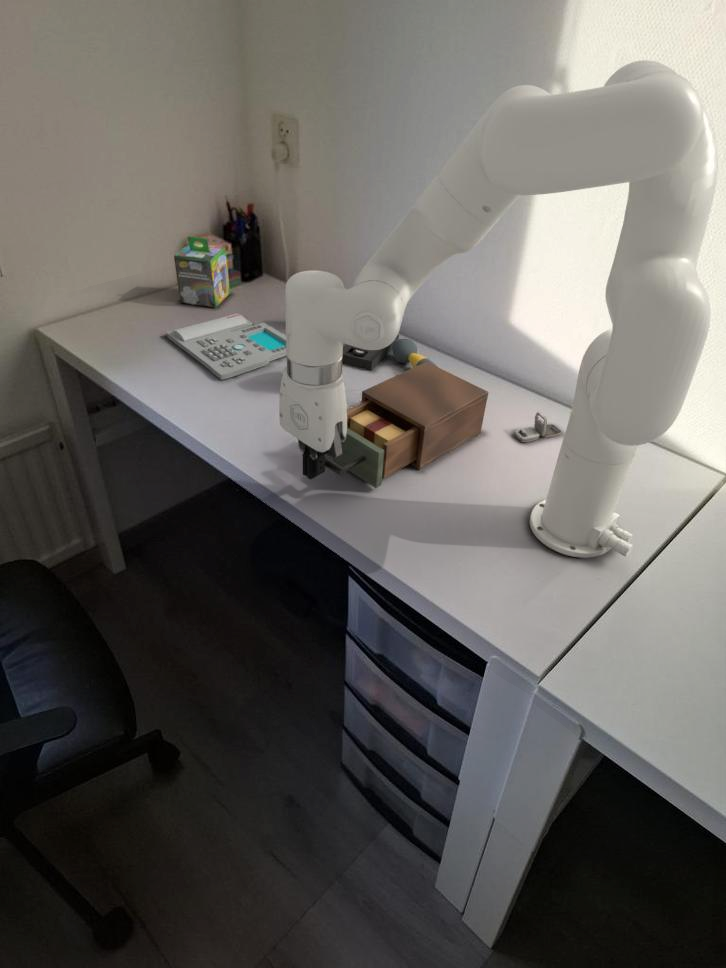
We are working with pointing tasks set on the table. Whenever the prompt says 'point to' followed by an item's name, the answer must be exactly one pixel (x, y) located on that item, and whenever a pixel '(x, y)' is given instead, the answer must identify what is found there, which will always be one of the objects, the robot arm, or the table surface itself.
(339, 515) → the table surface
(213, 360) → the office telephone
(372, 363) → the vhs tape
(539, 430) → the strap clip
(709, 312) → the robot arm
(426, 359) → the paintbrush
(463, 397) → the cabinet
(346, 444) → the drawer
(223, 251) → the chalk box
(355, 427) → the banded wooden block
